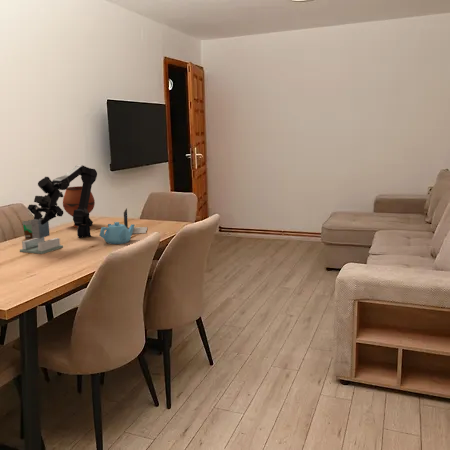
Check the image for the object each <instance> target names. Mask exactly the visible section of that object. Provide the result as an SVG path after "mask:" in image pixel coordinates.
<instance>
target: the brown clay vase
mask: <svg viewBox="0 0 450 450" xmlns="http://www.w3.org/2000/svg"><path fill="white" fill-rule="evenodd" d="M82 186H83V185H81V186H68V188H67V189H66V190H65V192H64V194H63V197H62V199H63V200H62V207H63V209H64V210H65V212H66V213H67V214H68V215H69V216H71V217H72V216H73V213H74V210H77V209H78V207H79V202H80V196H81V191H82ZM95 204H96V203H95V198H94V195H93V193H92V191H91V192H90V198H89V203H88V212H89V214H90V213H92V211H93V210H94V208H95ZM73 228H76V229H77V228H78V226H75V224H74V223H73Z"/></svg>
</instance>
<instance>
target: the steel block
mask: <svg viewBox="0 0 450 450" xmlns="http://www.w3.org/2000/svg"><path fill="white" fill-rule="evenodd" d="M43 218H44V217H42V218H37V219H34V218H33V219H30V220H31V226H32V237H33V238H43V237H44V238H46V237H48V236H51V235H50V226H49V225H50V223H49V222H50V221H48V222H46V223H45V224H43V225H42V224H41V223H42V220H43ZM33 238H32V239H33Z"/></svg>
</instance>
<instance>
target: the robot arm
mask: <svg viewBox="0 0 450 450" xmlns="http://www.w3.org/2000/svg"><path fill="white" fill-rule="evenodd" d="M79 176H80V179H81V181H82V185H81V186H82V191H81V196H80V202H79V207H78V209H77V210H74V213H73V216H71V217H72V220H73V221H72V222H73V225H74V224H75V226H78V228H76V235H77V237H78V238H80V239H81V238H90V237H92V235H91V227H92V226H93V222H94V221H93V220H92V219H91V218H90V213H89V212H88V203H89V198H90V192H91V193H92V186H93V184H94V183H95V182H96V180H97V177H98V171H97V170H96V169H95V168H90V167H87V166H86V165H83V164H82V165H81V164H77V165H75V166H74V167H73V168H72V169H71V170H69V171H67V173H65V174H64V175H62V176H59V177H56V178H54V179H52V180H51V178H50V177H49V176H44V178H42V179H40V180H39V181H38V182H37V186H38V187H39V188H40V190H41V191H42V192H43V193H44V194H45V195H44V196H43V195H35V196H34V199H33V203H37V204H38V205H37V204H32V203H31V204H29V205H28V206H27V208H26V209H27V210H28V211H29V212H30V213H31V214H32V215H33V219H37V218H43V220H42V223H41V224H42V225H43V224H45V223H46V222H50V221H51V220H53V219H54V218H57V217H63V216H64V210H63V209H62V208H61V207H60V206H59V205H58V203H57V202H58V200H59V198H64V194H63V192H62V191H66V189H67V188H68V187H70V186H71V185H70V183H72V181H74V180H75V179H76V178H78V177H79ZM42 213H45V215H44V216H43V214H42Z"/></svg>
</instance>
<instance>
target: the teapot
mask: <svg viewBox="0 0 450 450" xmlns="http://www.w3.org/2000/svg"><path fill="white" fill-rule="evenodd" d="M134 227H135V224H133V223H132V224H131V225H130V226H128V228H129V229H127V227H126V226H125V225H124V223H123V224H122V223H120V222H119V221H115V222H114V223H113V224H112V223H108V224H107V227H105V226H101V228H100V232H99V236H100V238H102V239H104V241H105V242H106V243H107V244H110V245H121V244H126V243H129V242H130V240H131V237H132V236H133V233H132V232H133V229H134Z"/></svg>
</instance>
